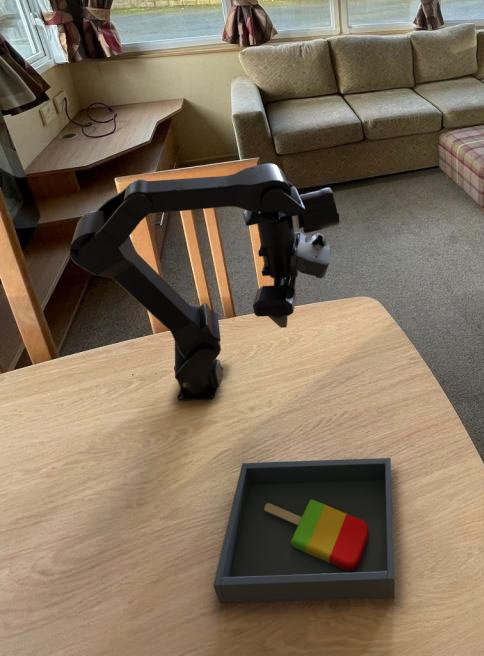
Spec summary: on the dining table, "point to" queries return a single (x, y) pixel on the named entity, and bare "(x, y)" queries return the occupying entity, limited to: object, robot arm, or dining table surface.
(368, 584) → the tub
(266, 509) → the popsicle
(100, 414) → the dining table surface
